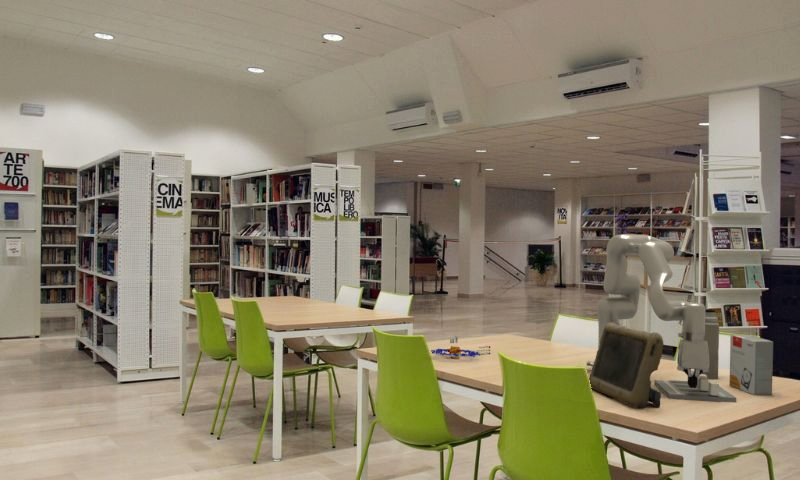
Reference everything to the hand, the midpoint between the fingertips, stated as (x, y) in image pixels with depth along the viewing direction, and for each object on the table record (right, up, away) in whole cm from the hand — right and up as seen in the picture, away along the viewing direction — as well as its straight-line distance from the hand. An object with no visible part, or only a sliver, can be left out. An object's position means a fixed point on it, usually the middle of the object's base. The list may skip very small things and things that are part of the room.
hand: (692, 387), depth 237 cm
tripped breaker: (+4, -1, -1) cm, 4 cm away
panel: (+2, -3, +3) cm, 5 cm away
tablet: (-28, -2, -6) cm, 28 cm away
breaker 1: (+7, -1, +13) cm, 15 cm away
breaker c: (+6, -1, +6) cm, 9 cm away
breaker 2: (+4, -1, -8) cm, 9 cm away
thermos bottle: (+21, -3, +33) cm, 39 cm away
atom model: (-77, -1, +67) cm, 102 cm away
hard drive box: (+26, -4, +9) cm, 28 cm away
